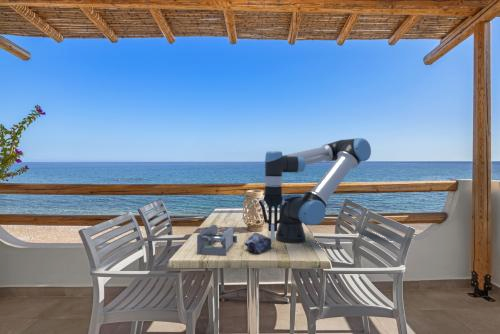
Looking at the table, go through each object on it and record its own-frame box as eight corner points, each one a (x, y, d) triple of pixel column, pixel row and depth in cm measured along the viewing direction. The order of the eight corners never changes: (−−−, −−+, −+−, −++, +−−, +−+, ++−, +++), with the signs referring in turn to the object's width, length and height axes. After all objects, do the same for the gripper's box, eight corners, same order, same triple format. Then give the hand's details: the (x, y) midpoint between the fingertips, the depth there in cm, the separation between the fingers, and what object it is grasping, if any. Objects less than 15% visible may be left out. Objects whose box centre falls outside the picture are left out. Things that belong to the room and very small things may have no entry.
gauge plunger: (234, 241, 145) (234, 225, 144) (223, 254, 124) (223, 235, 124) (211, 240, 147) (211, 224, 147) (196, 252, 126) (196, 234, 126)
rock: (258, 252, 121) (264, 229, 125) (237, 247, 126) (243, 225, 129) (268, 259, 133) (273, 238, 137) (248, 254, 137) (254, 233, 141)
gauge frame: (236, 241, 145) (237, 225, 145) (225, 255, 123) (225, 236, 123) (212, 240, 147) (212, 224, 147) (197, 254, 125) (197, 235, 125)
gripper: (288, 185, 133) (287, 237, 133) (260, 184, 135) (259, 235, 135) (287, 186, 126) (286, 241, 126) (257, 186, 128) (257, 239, 128)
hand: (272, 238), depth 131 cm, fingers closed
